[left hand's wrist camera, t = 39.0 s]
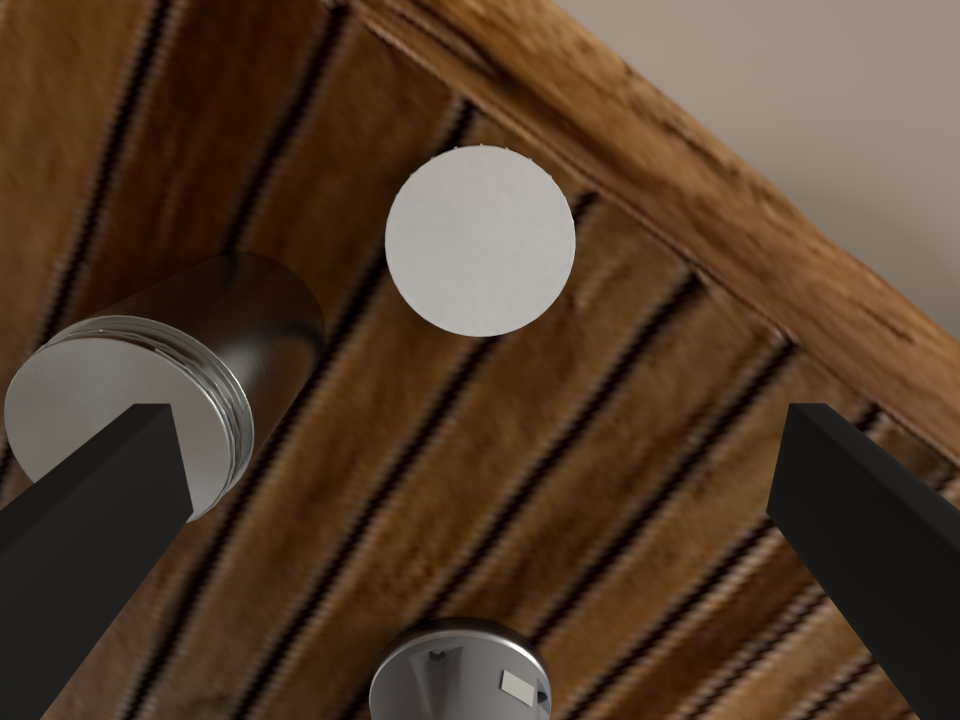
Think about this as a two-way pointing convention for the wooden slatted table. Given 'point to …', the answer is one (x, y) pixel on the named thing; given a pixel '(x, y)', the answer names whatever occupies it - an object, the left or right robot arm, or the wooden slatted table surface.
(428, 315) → the lid
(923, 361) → the wooden slatted table surface
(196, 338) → the jar
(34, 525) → the left robot arm
